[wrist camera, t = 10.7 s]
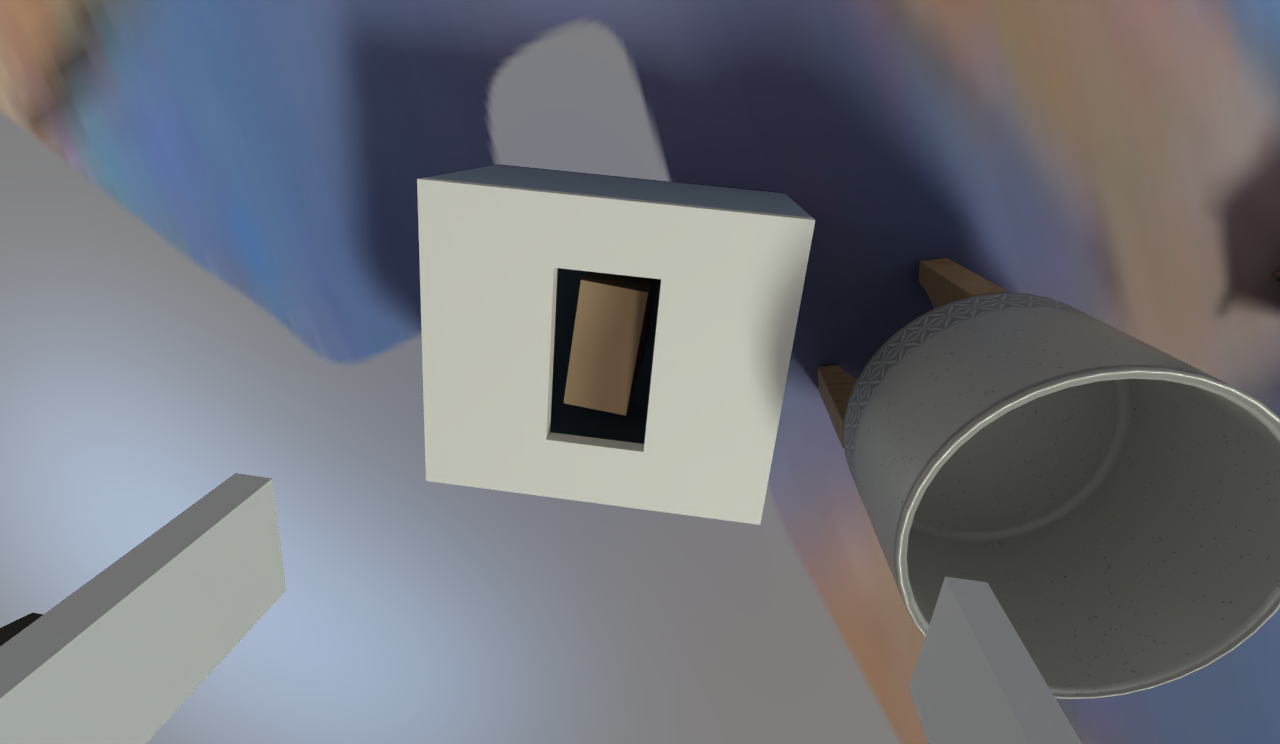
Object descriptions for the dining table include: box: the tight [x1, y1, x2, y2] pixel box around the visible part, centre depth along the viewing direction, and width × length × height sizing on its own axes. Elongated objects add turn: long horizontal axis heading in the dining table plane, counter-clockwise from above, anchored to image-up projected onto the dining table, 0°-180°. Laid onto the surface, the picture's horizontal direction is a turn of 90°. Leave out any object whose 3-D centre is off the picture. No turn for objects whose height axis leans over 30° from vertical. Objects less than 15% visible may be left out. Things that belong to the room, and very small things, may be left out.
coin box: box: [417, 164, 815, 525], centre depth 34 cm, size 14×16×11 cm
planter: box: [817, 258, 1280, 699], centre depth 30 cm, size 13×13×18 cm
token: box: [564, 271, 657, 416], centre depth 34 cm, size 3×6×9 cm, turn 170°
